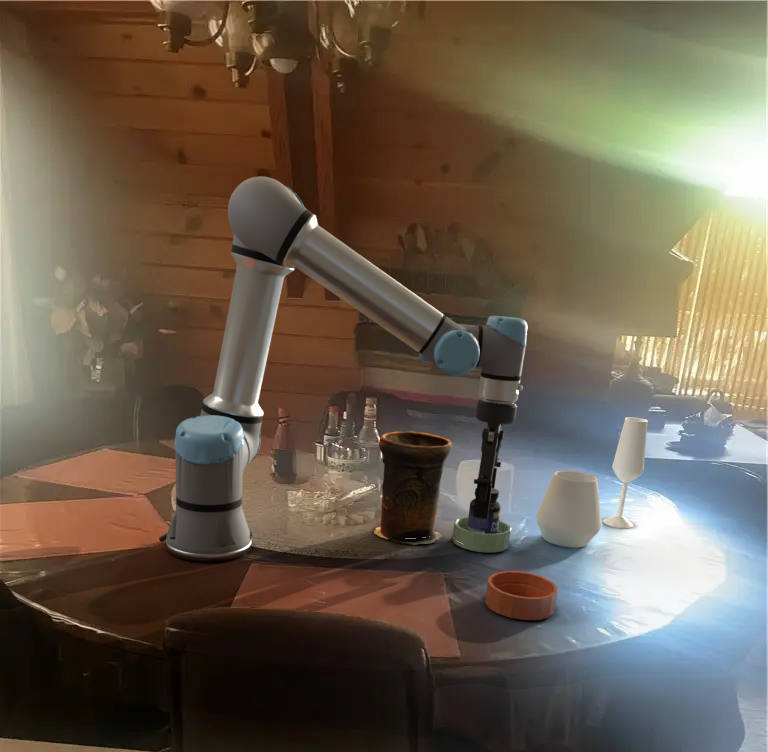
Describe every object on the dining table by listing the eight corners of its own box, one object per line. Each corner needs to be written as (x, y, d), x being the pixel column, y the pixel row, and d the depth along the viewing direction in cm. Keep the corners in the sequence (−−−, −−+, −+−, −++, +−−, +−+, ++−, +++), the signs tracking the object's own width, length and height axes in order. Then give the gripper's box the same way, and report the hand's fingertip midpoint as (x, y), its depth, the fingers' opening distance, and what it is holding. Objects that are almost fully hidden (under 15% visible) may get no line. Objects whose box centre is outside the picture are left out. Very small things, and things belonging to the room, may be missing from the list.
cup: (521, 537, 158) (530, 473, 153) (552, 524, 168) (561, 463, 163) (580, 556, 150) (591, 488, 145) (609, 541, 160) (620, 478, 155)
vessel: (422, 520, 164) (431, 429, 158) (454, 542, 152) (465, 445, 146) (361, 524, 158) (368, 430, 152) (389, 548, 146) (398, 447, 140)
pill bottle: (495, 549, 149) (501, 496, 145) (464, 545, 150) (470, 492, 146) (496, 539, 155) (503, 487, 151) (467, 535, 156) (473, 484, 152)
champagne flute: (631, 530, 168) (650, 424, 161) (600, 524, 171) (618, 419, 163) (635, 522, 174) (654, 419, 167) (605, 516, 177) (623, 415, 169)
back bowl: (449, 548, 148) (451, 529, 147) (456, 531, 158) (458, 513, 157) (506, 557, 146) (509, 537, 145) (509, 538, 156) (512, 520, 155)
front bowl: (482, 615, 120) (485, 592, 119) (488, 588, 131) (490, 567, 129) (553, 626, 118) (557, 603, 117) (553, 598, 129) (557, 576, 127)
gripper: (514, 413, 131) (498, 528, 138) (520, 394, 154) (506, 493, 161) (471, 408, 132) (457, 522, 139) (483, 389, 156) (471, 488, 162)
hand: (483, 507), depth 150 cm, fingers open, 13 cm apart
